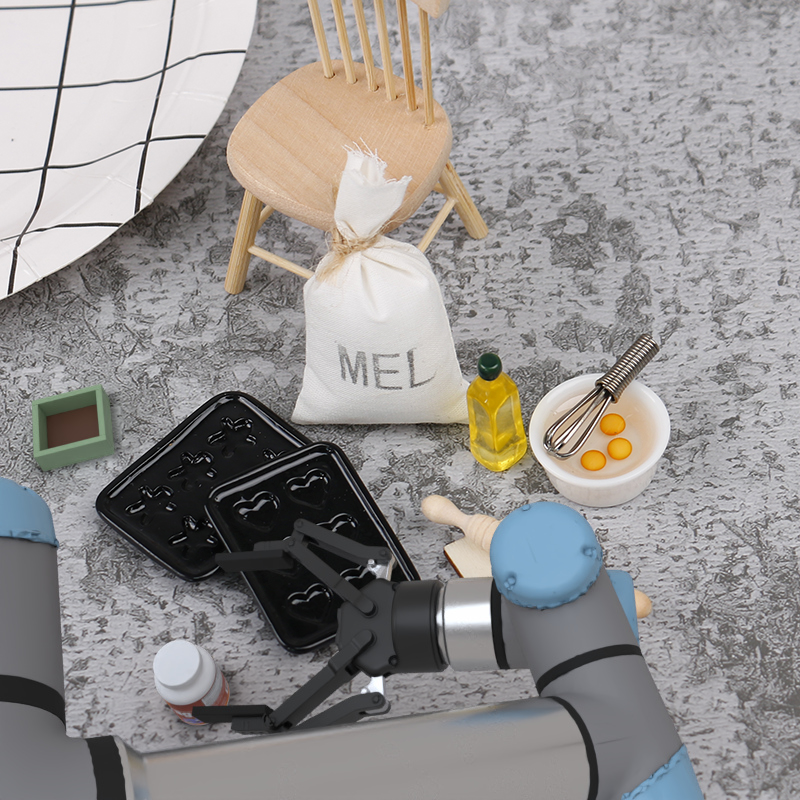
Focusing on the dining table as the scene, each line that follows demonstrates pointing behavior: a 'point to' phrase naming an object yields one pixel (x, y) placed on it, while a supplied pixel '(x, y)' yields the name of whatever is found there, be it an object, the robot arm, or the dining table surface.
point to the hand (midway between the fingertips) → (209, 635)
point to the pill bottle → (189, 679)
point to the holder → (72, 427)
